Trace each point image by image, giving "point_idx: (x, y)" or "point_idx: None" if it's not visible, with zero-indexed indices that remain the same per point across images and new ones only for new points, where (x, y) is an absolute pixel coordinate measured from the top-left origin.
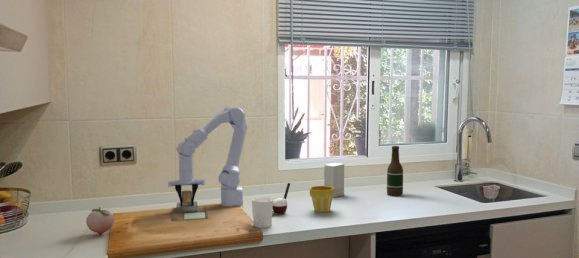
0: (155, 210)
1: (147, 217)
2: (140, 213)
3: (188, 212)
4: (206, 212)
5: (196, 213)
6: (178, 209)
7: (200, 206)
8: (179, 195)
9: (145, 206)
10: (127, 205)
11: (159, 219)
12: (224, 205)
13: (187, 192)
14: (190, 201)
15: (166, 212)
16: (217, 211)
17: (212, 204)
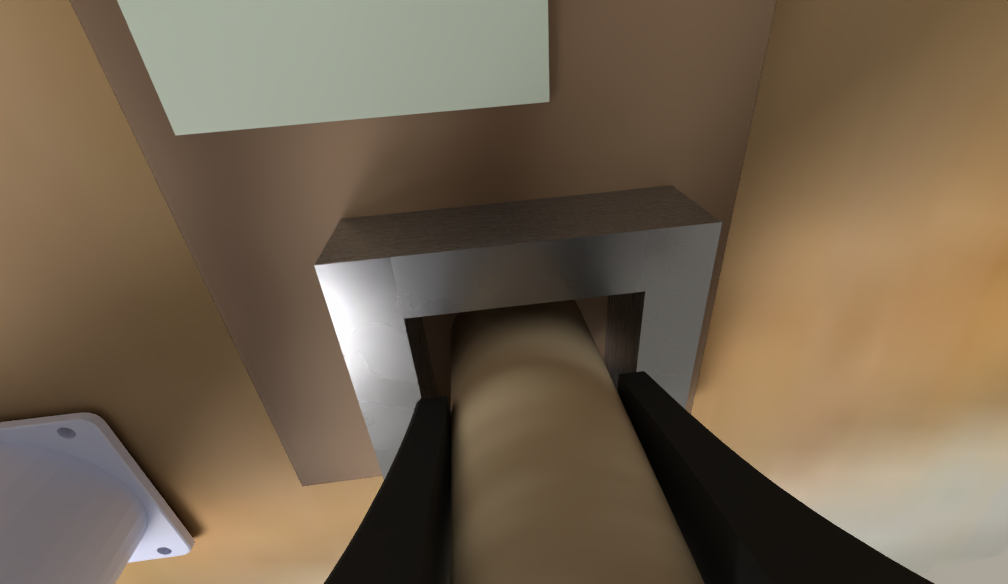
0: (820, 439)
1: (988, 202)
2: (981, 360)
3: (487, 206)
4: (166, 175)
5: (321, 75)
6: (665, 209)
7: (369, 468)
8: (752, 484)
9: (861, 531)
10: (967, 549)
11: (892, 72)
12: (31, 481)
13: (565, 580)
14: (470, 402)
15: (737, 375)
16: (132, 373)
17: (300, 575)
